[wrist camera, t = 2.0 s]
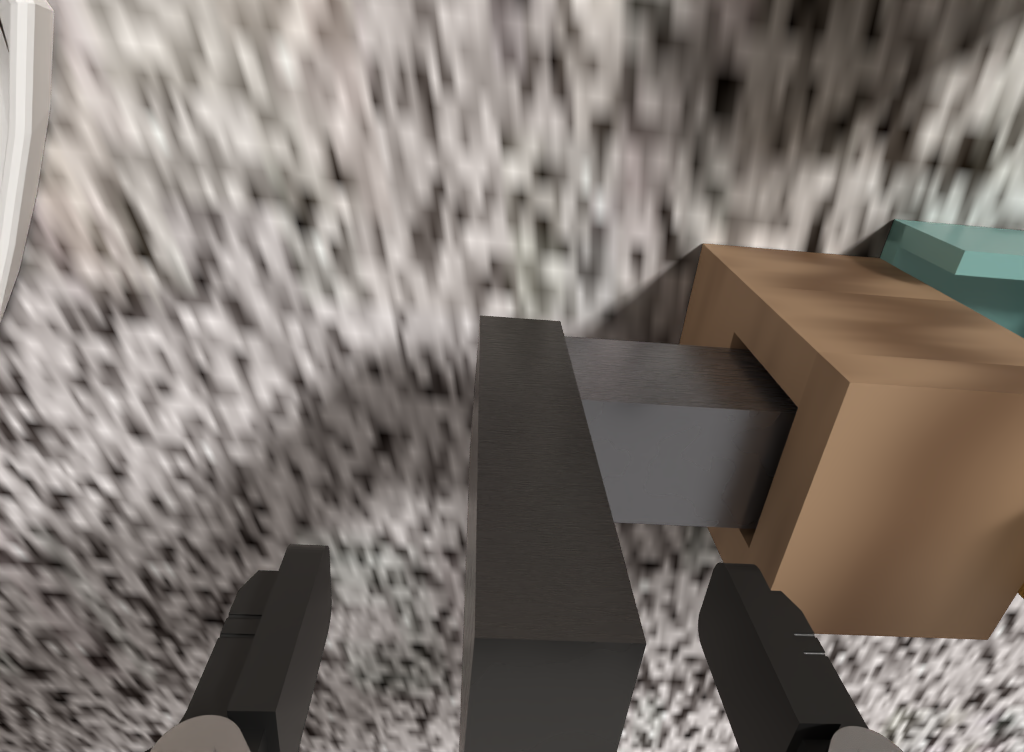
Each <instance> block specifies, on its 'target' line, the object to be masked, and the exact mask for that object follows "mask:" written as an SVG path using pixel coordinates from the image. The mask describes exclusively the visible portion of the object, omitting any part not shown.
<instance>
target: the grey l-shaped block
mask: <svg viewBox="0 0 1024 752" xmlns="http://www.w3.org/2000/svg"><path fill="white" fill-rule="evenodd" d="M797 409H798V407H797V406H796V404H795V403H794V402H793V401H792V400H791V398H790V397H789V396H788V395H787V394H786V393H785V391H784V390H783V389H782V388H781V387H780V385H779V384H778V383H777V382H776V381H775V380H774V378H773V377H772V376H771V375H770V374H769V373H768V371H767V370H766V369H765V368H764V367H763V365H762V364H761V363H760V362H759V361H758V360H757V358H756V357H755V356H754V355H753V354H752V352H751V351H750V350H749V349H737V348H722V347H708V346H694V345H679V344H665V343H651V342H637V341H622V340H608V339H594V338H579V337H565V336H564V333H563V330H562V326H561V322H560V321H548V320H534V319H520V318H506V317H493V316H480V323H479V336H478V350H477V363H476V376H475V389H474V403H473V416H472V429H471V443H470V462H469V490H468V518H467V546H466V573H465V601H464V629H463V657H462V685H461V713H460V741H459V752H617V748H618V745H619V741H620V737H621V734H622V730H623V726H624V723H625V719H626V716H627V712H628V708H629V705H630V701H631V697H632V694H633V690H634V686H635V683H636V679H637V675H638V672H639V668H640V664H641V661H642V657H643V654H644V650H645V646H646V641H645V637H644V633H643V629H642V626H641V622H640V618H639V614H638V611H637V607H636V603H635V599H634V596H633V592H632V588H631V584H630V581H629V577H628V573H627V569H626V566H625V562H624V558H623V554H622V551H621V547H620V543H619V539H618V536H617V532H616V528H615V524H614V522H618V523H639V524H660V525H681V526H702V527H722V528H743V529H756V527H757V524H758V522H759V519H760V516H761V513H762V510H763V507H764V504H765V501H766V499H767V496H768V493H769V490H770V487H771V484H772V481H773V478H774V475H775V473H776V470H777V467H778V464H779V461H780V458H781V455H782V452H783V450H784V447H785V444H786V441H787V438H788V435H789V432H790V429H791V427H792V424H793V421H794V418H795V415H796V412H797Z"/></svg>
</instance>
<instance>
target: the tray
mask: <svg viewBox="0 0 1024 752" xmlns="http://www.w3.org/2000/svg"><path fill="white" fill-rule="evenodd" d="M880 258H881V259H882V260H884V261H886V262H888V263H890V264H891V265H893V266H895V267H897V268H898V269H900V270H902V271H904V272H906V273H907V274H909V275H911V276H913V277H915V278H916V279H918V280H920V281H922V282H924V283H925V284H927V285H929V286H931V287H933V288H934V289H936V290H938V291H940V292H942V293H943V294H945V295H947V296H949V297H951V298H952V299H954V300H956V301H958V302H959V303H961V304H963V305H965V306H967V307H968V308H970V309H972V310H974V311H976V312H977V313H979V314H981V315H983V316H985V317H986V318H988V319H990V320H992V321H994V322H995V323H997V324H999V325H1001V326H1003V327H1004V328H1006V329H1008V330H1010V331H1012V332H1013V333H1015V334H1017V335H1019V336H1020V337H1022V338H1024V231H1022V230H1011V229H999V228H988V227H976V226H965V225H954V224H942V223H931V222H919V221H908V220H897V219H894V221H893V224H892V227H891V229H890V232H889V235H888V237H887V240H886V243H885V246H884V248H883V251H882V254H881V256H880Z"/></svg>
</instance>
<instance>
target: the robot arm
mask: <svg viewBox="0 0 1024 752" xmlns="http://www.w3.org/2000/svg"><path fill="white" fill-rule="evenodd" d="M331 605H332V598H331V576H330V554H329V547H328V546H320V545H295V544H290V545H289V546H288V548H287V550H286V553H285V556H284V558H283V561H282V564H281V566H280V569H279V571H260V570H259V571H258V572H257V573H256V574H255V575H254V576H253V577H252V578H251V579H250V580H249V581H248V582H247V583H246V584H245V585H244V586H243V587H242V588H241V589H240V590H239V591H238V593H237V596H236V598H235V600H234V603H233V605H232V607H231V610H230V612H229V617H228V618H227V619H226V621H225V624H224V626H223V628H222V630H221V633H220V638H218V640H217V642H216V644H215V647H214V649H213V651H212V654H211V656H210V658H209V661H208V663H207V665H206V667H205V670H204V672H203V674H202V677H201V679H200V681H199V684H198V686H197V688H196V691H195V693H194V695H193V698H192V700H191V702H190V704H189V707H188V709H187V711H186V713H185V715H184V717H183V718H182V720H181V721H180V723H179V724H178V725H176V726H175V727H173V728H172V729H170V730H169V731H168V732H166V733H165V734H164V735H163V736H162V737H161V738H160V739H159V740H158V741H157V742H156V744H155V745H154V746H153V747H152V748H150V749H149V750H147V751H145V752H298V749H299V745H300V741H301V737H302V733H303V729H304V725H305V721H306V717H307V713H308V710H309V706H310V702H311V698H312V694H313V690H314V686H315V682H316V678H317V674H318V670H319V666H320V662H321V658H322V654H323V650H324V646H325V642H326V638H327V634H328V630H329V624H330V617H331ZM698 631H699V638H700V643H701V646H702V649H703V651H704V654H705V657H706V660H707V662H708V665H709V668H710V670H711V673H712V676H713V679H714V681H715V684H716V687H717V690H718V692H719V695H720V698H721V700H722V703H723V706H724V709H725V711H726V714H727V717H728V719H729V722H730V725H731V728H732V730H733V733H734V736H735V739H736V741H737V744H738V747H739V749H740V752H903V751H902V750H901V749H900V748H899V747H897V746H896V745H895V744H894V743H893V742H891V741H890V740H889V739H887V738H886V737H884V736H882V735H881V734H879V733H877V732H875V731H873V730H870V729H869V728H868V727H867V725H866V724H865V722H864V720H863V718H862V717H861V715H860V713H859V711H858V709H857V708H856V706H855V704H854V702H853V701H852V699H851V697H850V695H849V694H848V692H847V690H846V688H845V686H844V685H843V683H842V681H841V679H840V678H839V676H838V674H837V672H836V671H835V669H834V667H833V665H832V663H831V662H830V660H829V658H828V656H825V651H824V649H823V647H822V646H821V644H820V642H819V640H818V639H817V638H815V636H814V632H813V630H812V628H811V626H810V624H809V623H808V621H807V619H806V617H805V616H804V614H803V612H802V611H801V610H800V609H799V608H798V607H797V606H796V605H795V604H794V603H793V602H792V601H791V600H790V599H789V598H788V597H787V596H786V595H785V594H784V593H783V592H782V591H772V590H770V588H769V586H768V584H767V582H766V580H765V578H764V577H763V575H762V573H761V571H760V569H759V568H758V567H757V566H756V565H754V564H738V563H718V564H717V565H716V566H715V568H714V570H713V573H712V576H711V579H710V582H709V585H708V589H707V592H706V595H705V598H704V601H703V604H702V607H701V610H700V614H699V620H698Z"/></svg>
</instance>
